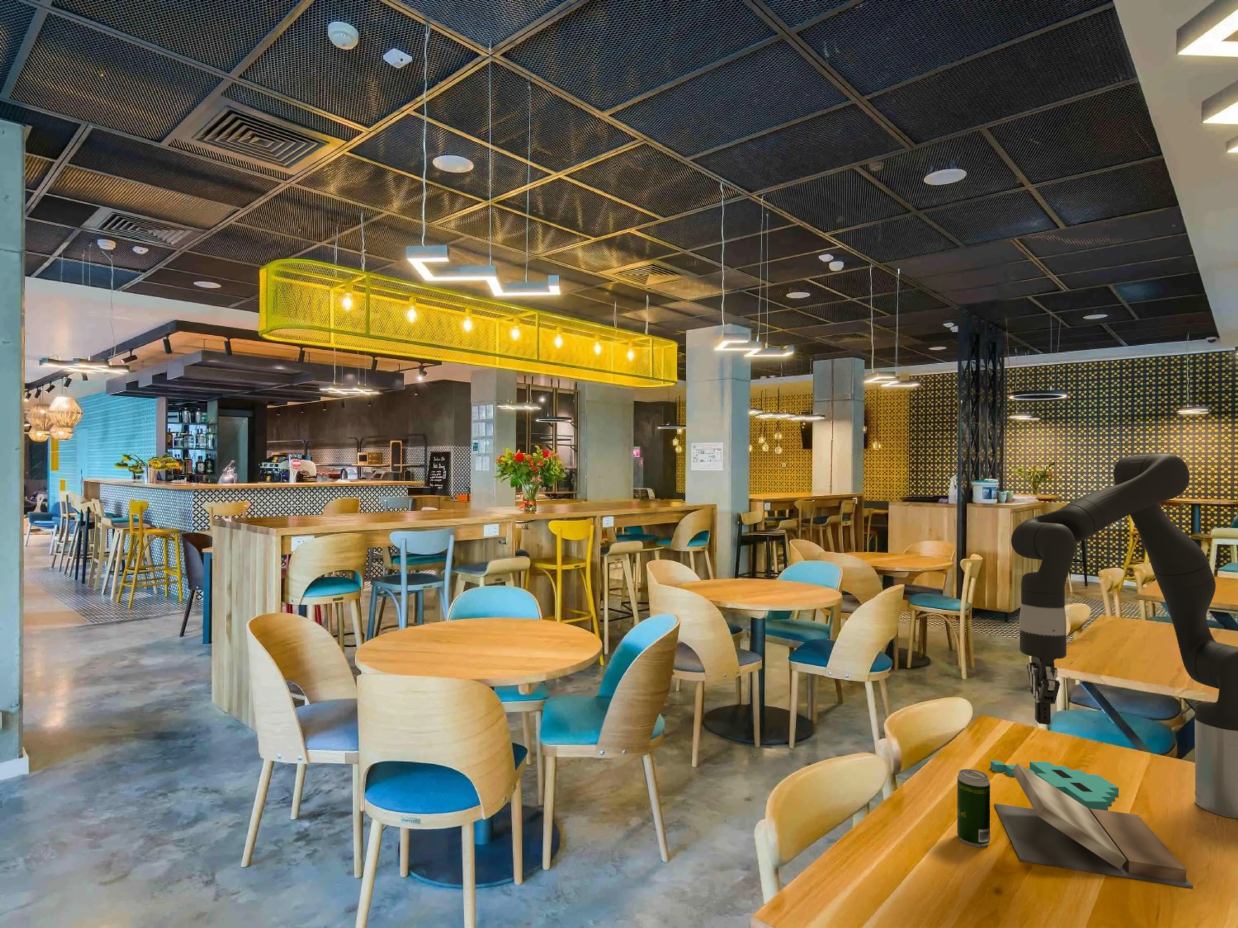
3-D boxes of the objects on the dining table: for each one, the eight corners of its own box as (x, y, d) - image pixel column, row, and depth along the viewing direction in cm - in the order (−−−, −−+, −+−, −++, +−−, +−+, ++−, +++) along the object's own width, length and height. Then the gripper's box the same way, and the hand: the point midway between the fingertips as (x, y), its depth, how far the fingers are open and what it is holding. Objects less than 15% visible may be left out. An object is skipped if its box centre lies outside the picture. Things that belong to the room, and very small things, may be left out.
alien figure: (1040, 811, 142) (1141, 813, 141) (1040, 800, 142) (1141, 802, 141) (990, 770, 162) (1078, 771, 161) (990, 760, 162) (1078, 762, 161)
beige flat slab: (1081, 815, 137) (1087, 807, 137) (1119, 869, 118) (1126, 859, 118) (1011, 770, 141) (1017, 762, 141) (1037, 815, 122) (1044, 806, 122)
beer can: (996, 844, 127) (996, 777, 128) (976, 850, 125) (976, 782, 125) (970, 830, 132) (970, 766, 132) (950, 836, 130) (950, 771, 130)
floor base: (1139, 825, 135) (1138, 812, 135) (1193, 887, 114) (1192, 872, 114) (994, 805, 143) (994, 793, 143) (1019, 860, 122) (1019, 846, 122)
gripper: (1076, 638, 124) (1077, 737, 123) (1055, 624, 137) (1055, 713, 136) (1028, 634, 126) (1028, 732, 126) (1012, 621, 139) (1012, 709, 138)
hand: (1042, 722), depth 131 cm, fingers closed
